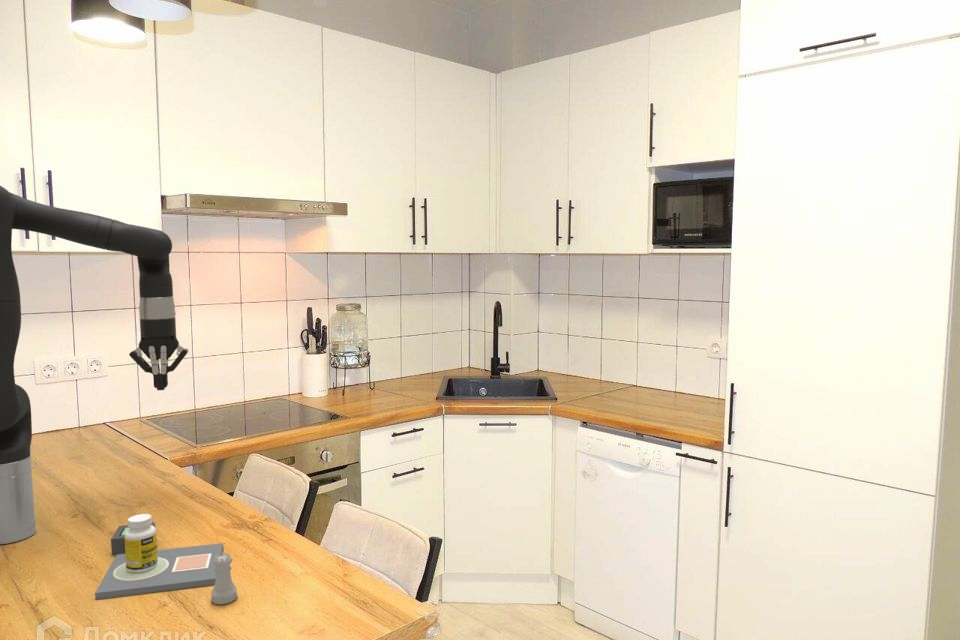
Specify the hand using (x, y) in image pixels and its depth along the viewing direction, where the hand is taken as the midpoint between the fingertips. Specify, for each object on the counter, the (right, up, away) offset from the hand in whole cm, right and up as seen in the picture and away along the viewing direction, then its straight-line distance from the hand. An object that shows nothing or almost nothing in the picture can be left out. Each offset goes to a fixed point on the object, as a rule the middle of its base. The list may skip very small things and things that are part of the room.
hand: (161, 389), depth 161 cm
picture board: (+14, -32, -29) cm, 46 cm away
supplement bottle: (+10, -31, -30) cm, 45 cm away
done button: (+3, -30, -18) cm, 35 cm away
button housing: (+3, -31, -18) cm, 36 cm away
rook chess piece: (+30, -33, -39) cm, 60 cm away
